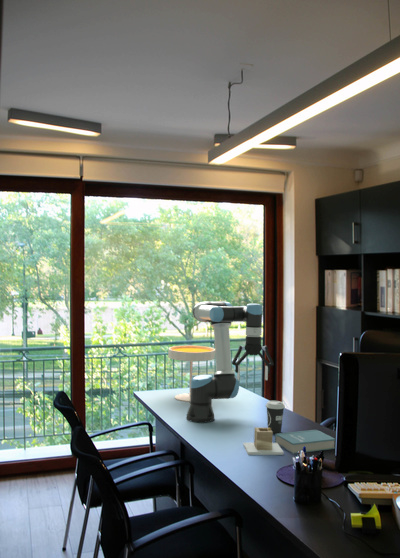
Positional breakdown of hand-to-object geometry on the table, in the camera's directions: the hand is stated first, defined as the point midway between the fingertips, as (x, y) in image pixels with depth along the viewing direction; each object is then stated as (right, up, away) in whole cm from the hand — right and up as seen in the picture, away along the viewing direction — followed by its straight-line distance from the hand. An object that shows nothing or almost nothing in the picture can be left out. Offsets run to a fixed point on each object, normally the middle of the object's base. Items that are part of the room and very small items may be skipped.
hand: (252, 379), depth 259 cm
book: (+24, -30, -7) cm, 39 cm away
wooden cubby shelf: (+3, -28, -15) cm, 32 cm away
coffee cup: (+12, -29, +12) cm, 34 cm away
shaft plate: (+3, -29, -15) cm, 33 cm away
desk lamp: (-31, -27, +80) cm, 90 cm away
